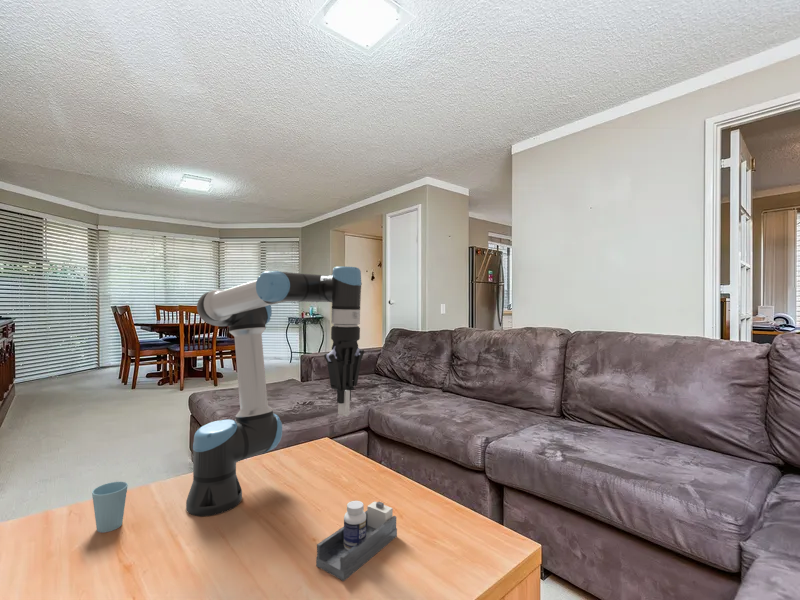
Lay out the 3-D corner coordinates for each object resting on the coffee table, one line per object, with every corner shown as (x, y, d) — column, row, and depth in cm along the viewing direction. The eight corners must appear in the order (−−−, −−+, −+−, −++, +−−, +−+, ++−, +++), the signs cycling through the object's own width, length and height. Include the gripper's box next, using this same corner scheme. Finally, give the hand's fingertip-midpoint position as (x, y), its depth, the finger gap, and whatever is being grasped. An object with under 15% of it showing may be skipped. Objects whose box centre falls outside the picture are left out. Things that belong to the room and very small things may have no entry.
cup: (133, 517, 109) (133, 480, 109) (118, 533, 101) (118, 493, 101) (102, 520, 108) (102, 482, 108) (85, 536, 100) (85, 496, 100)
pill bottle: (362, 553, 91) (362, 511, 91) (340, 550, 92) (340, 509, 92) (368, 539, 96) (369, 500, 96) (348, 537, 97) (348, 497, 97)
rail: (316, 566, 89) (316, 544, 89) (371, 525, 106) (371, 506, 106) (343, 581, 84) (343, 558, 84) (396, 536, 101) (396, 516, 101)
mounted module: (367, 525, 102) (367, 502, 102) (374, 520, 105) (374, 497, 105) (385, 532, 99) (385, 509, 99) (392, 527, 101) (392, 504, 101)
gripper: (338, 327, 95) (336, 423, 96) (372, 325, 106) (370, 411, 106) (317, 325, 100) (315, 417, 100) (352, 323, 110) (350, 406, 111)
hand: (343, 414), depth 103 cm, fingers closed
